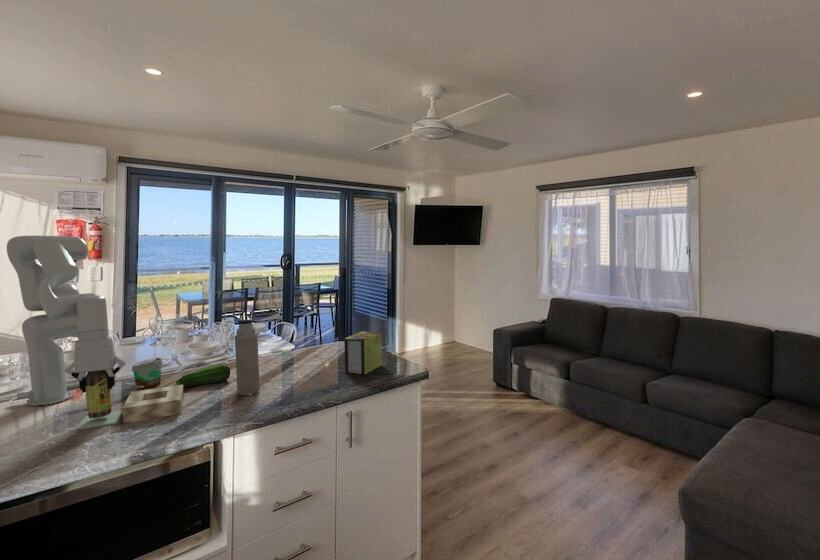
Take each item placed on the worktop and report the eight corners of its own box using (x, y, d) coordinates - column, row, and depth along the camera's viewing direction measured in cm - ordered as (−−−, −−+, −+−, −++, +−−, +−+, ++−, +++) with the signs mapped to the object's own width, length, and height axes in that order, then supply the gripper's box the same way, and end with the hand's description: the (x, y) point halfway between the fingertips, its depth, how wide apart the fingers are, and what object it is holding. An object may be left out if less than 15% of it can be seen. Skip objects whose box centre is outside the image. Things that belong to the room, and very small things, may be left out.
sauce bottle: (105, 418, 128) (98, 357, 126) (83, 420, 127) (76, 358, 125) (116, 410, 134) (110, 351, 132) (96, 411, 133) (90, 353, 131)
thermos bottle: (249, 387, 160) (246, 317, 158) (264, 390, 157) (261, 319, 154) (232, 394, 153) (229, 321, 150) (248, 397, 150) (244, 322, 147)
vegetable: (229, 361, 167) (173, 368, 158) (230, 379, 164) (174, 387, 156) (229, 365, 173) (176, 372, 164) (230, 381, 171) (176, 390, 162)
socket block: (123, 423, 128) (122, 408, 128) (132, 405, 143) (131, 391, 142) (180, 413, 135) (180, 399, 135) (183, 397, 150) (183, 384, 149)
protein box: (381, 365, 187) (381, 332, 186) (364, 375, 173) (364, 340, 172) (362, 363, 192) (361, 330, 190) (344, 372, 178) (343, 338, 176)
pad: (76, 430, 124) (76, 428, 124) (85, 417, 133) (85, 416, 133) (116, 423, 128) (116, 422, 128) (122, 411, 137) (122, 410, 137)
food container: (146, 392, 156) (144, 366, 155) (133, 391, 157) (131, 365, 156) (171, 381, 168) (169, 357, 167) (158, 380, 169) (157, 357, 168)
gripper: (54, 340, 121) (59, 398, 123) (124, 334, 129) (128, 389, 130) (63, 335, 128) (67, 390, 129) (128, 329, 135) (132, 382, 137)
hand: (98, 389), depth 130 cm, fingers closed on sauce bottle, 6 cm apart
